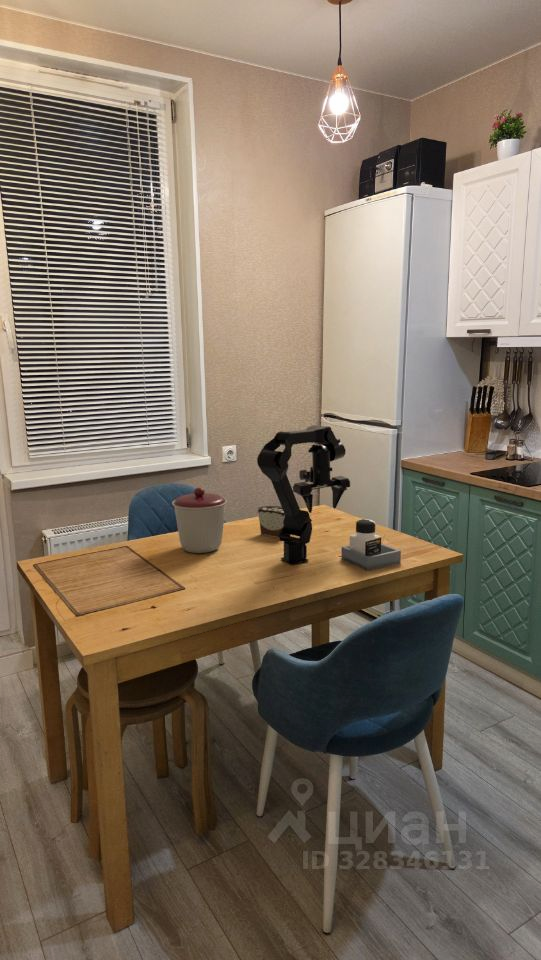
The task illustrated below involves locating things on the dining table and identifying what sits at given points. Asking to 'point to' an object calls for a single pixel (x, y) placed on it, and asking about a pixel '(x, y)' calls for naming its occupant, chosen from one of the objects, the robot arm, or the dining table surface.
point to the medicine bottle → (366, 538)
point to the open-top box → (372, 557)
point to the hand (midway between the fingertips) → (322, 510)
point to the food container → (271, 520)
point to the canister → (200, 520)
